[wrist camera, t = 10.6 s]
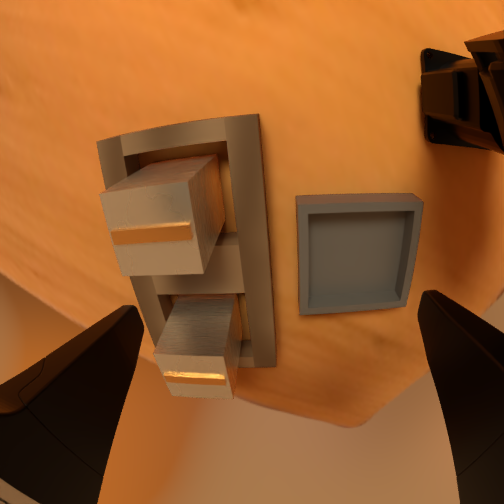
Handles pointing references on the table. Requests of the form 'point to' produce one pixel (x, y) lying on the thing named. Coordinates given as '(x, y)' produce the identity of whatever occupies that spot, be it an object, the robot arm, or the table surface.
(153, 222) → the block
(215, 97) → the table surface
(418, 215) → the grey tray
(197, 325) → the block
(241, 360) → the grey flat frame
